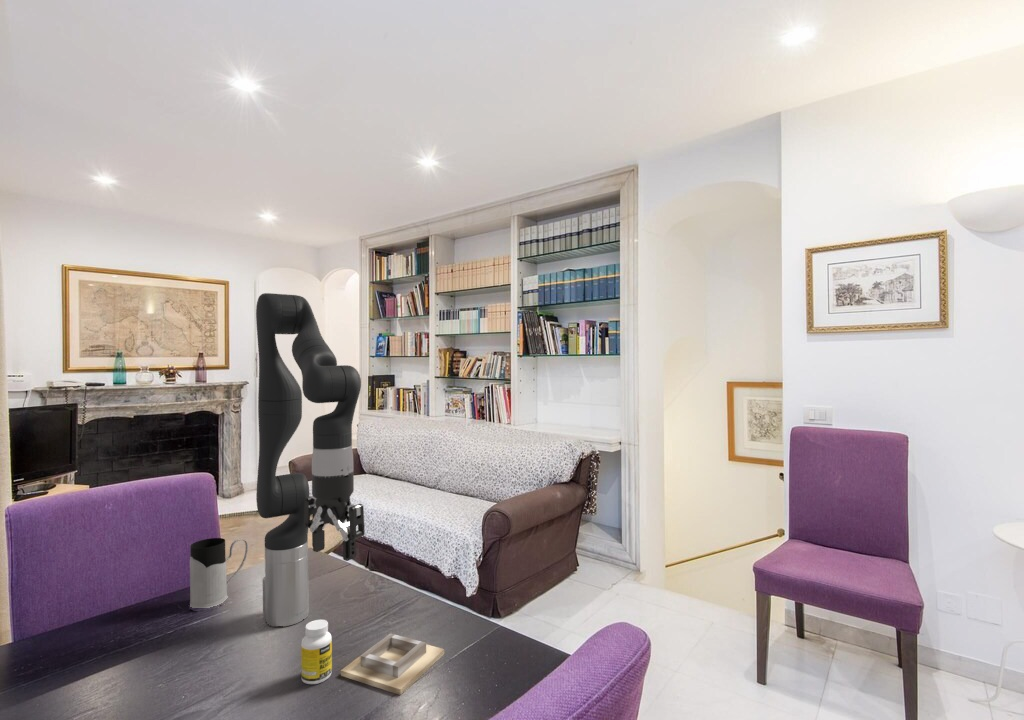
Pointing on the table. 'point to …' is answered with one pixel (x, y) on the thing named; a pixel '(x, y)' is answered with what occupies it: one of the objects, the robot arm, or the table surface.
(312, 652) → the supplement bottle
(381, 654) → the socket stand
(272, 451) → the robot arm
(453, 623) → the table surface
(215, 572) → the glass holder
